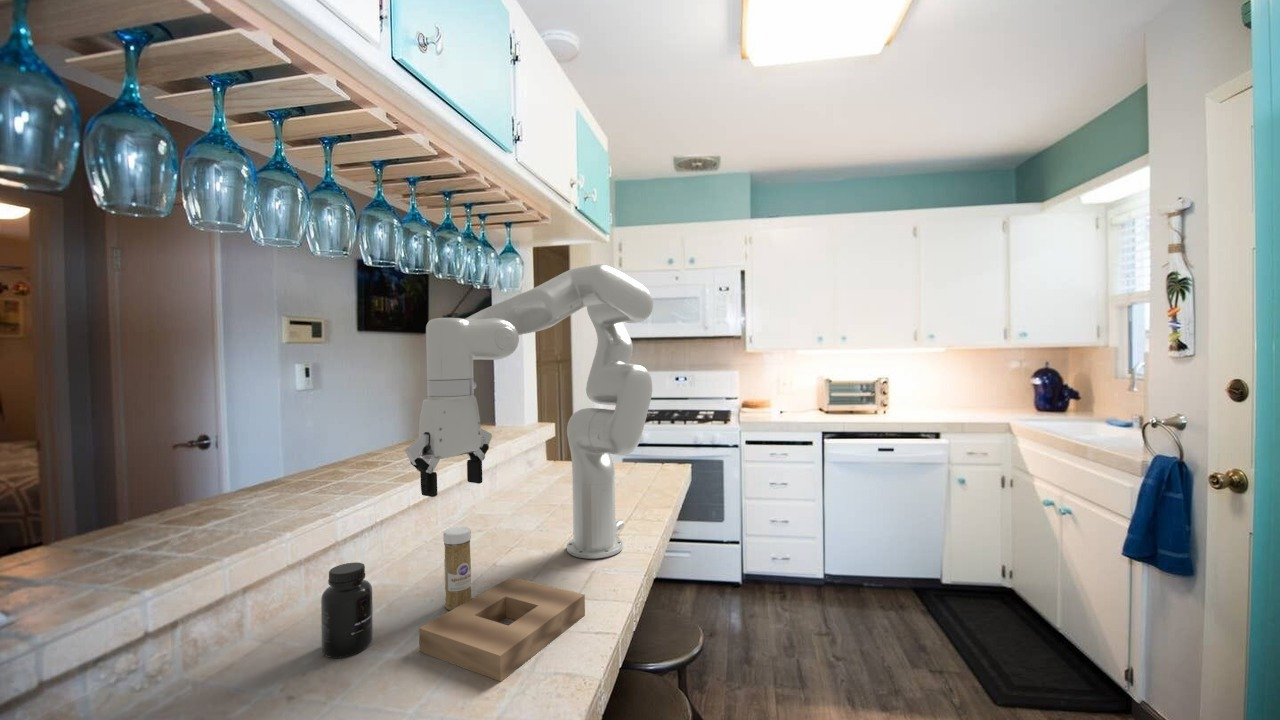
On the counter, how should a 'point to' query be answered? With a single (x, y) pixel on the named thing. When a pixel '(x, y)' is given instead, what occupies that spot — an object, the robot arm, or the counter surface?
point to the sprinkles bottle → (457, 566)
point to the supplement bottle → (346, 611)
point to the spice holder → (502, 627)
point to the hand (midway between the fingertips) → (453, 488)
